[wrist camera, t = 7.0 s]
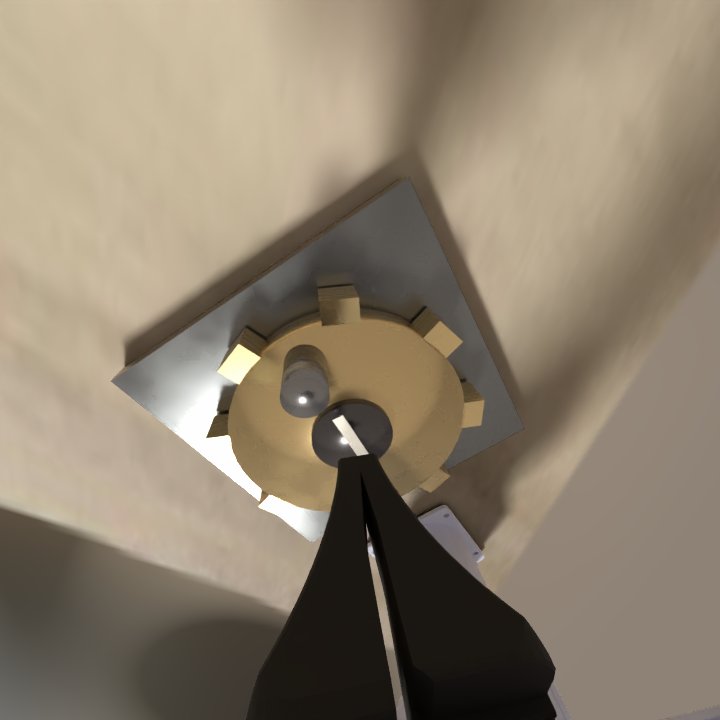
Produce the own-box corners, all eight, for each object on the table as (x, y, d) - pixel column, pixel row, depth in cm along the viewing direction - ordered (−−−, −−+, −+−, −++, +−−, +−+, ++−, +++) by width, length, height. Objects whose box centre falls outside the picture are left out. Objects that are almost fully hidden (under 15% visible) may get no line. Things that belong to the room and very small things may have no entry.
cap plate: (512, 415, 25) (524, 428, 23) (311, 524, 27) (311, 542, 26) (401, 177, 16) (409, 177, 15) (124, 367, 19) (110, 381, 18)
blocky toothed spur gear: (490, 437, 23) (534, 497, 19) (304, 523, 25) (303, 598, 20) (414, 237, 16) (454, 258, 12) (158, 373, 18) (109, 437, 13)
